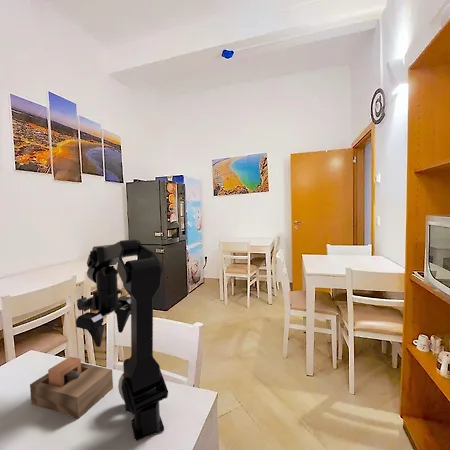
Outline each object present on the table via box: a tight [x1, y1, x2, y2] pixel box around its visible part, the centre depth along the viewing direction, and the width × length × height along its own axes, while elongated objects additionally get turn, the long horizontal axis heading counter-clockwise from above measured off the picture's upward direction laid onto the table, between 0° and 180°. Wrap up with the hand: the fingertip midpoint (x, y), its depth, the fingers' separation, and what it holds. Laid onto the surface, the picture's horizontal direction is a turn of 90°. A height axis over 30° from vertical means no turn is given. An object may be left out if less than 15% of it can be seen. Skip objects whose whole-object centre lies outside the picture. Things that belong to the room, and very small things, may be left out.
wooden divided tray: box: [29, 362, 114, 420], centre depth 77 cm, size 16×12×7 cm
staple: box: [47, 356, 82, 388], centre depth 78 cm, size 7×4×6 cm, turn 161°
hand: (109, 339), depth 84 cm, fingers open, 9 cm apart
